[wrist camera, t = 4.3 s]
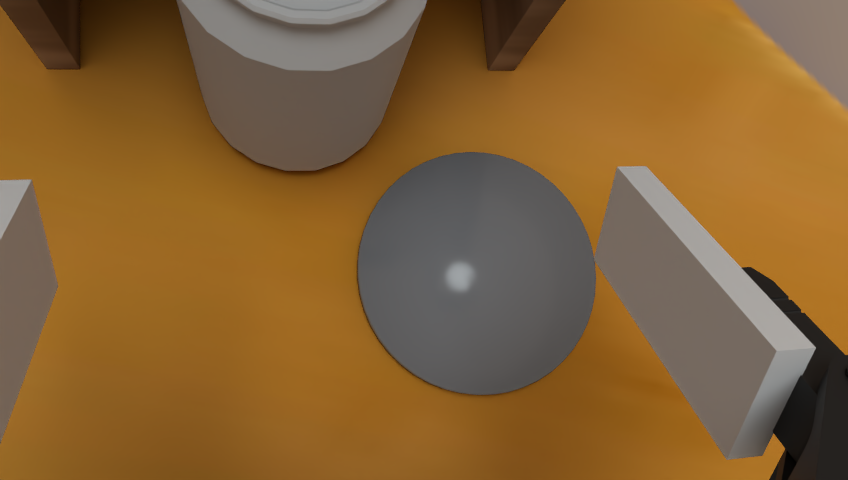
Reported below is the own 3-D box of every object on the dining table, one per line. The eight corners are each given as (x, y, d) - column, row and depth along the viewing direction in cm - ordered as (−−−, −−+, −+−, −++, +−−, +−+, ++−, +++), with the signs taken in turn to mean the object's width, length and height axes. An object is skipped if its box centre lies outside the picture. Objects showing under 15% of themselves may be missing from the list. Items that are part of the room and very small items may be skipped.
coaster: (365, 405, 28) (367, 406, 28) (349, 158, 30) (350, 154, 29) (603, 383, 30) (610, 383, 30) (574, 154, 32) (580, 149, 31)
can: (330, -18, 31) (359, -253, 20) (417, 128, 31) (499, -26, 19) (169, 52, 29) (97, -164, 18) (259, 209, 29) (245, 91, 17)
